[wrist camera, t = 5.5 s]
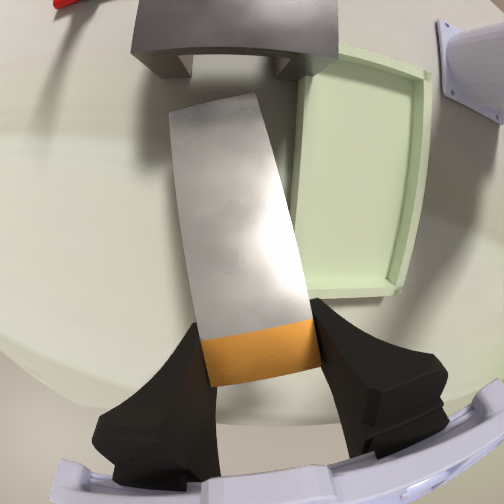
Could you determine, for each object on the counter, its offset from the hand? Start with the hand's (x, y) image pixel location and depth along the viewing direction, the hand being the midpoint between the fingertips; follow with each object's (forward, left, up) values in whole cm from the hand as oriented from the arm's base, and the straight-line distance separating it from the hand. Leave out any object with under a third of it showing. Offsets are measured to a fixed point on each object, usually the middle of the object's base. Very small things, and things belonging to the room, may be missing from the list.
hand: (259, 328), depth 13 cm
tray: (-7, -6, -8) cm, 13 cm away
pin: (+1, -2, -5) cm, 5 cm away
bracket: (+2, -15, -8) cm, 17 cm away
